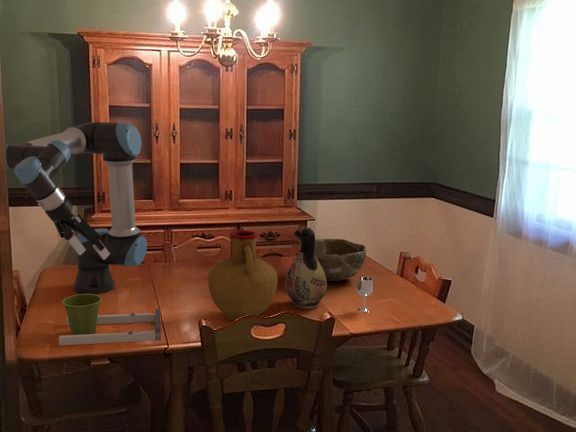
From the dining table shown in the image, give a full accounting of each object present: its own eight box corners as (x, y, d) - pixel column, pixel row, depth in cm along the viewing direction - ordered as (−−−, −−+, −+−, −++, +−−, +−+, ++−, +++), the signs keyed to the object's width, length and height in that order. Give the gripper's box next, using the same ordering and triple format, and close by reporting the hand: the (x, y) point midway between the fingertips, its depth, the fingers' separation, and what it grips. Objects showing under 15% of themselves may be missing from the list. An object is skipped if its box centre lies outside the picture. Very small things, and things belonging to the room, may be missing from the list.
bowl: (349, 294, 245) (350, 257, 242) (289, 282, 258) (290, 247, 255) (375, 277, 268) (377, 243, 265) (319, 267, 281) (320, 235, 278)
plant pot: (66, 327, 204) (64, 294, 202) (103, 325, 206) (102, 292, 204) (61, 341, 192) (59, 306, 190) (101, 339, 195) (100, 304, 193)
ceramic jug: (278, 300, 235) (280, 222, 229) (315, 296, 241) (318, 220, 235) (295, 315, 220) (297, 232, 214) (335, 311, 226) (338, 230, 220)
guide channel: (59, 345, 190) (58, 333, 189) (67, 323, 207) (67, 312, 206) (160, 340, 195) (160, 328, 195) (160, 319, 213) (160, 308, 212)
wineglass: (367, 314, 223) (369, 282, 221) (353, 311, 226) (354, 279, 224) (374, 309, 228) (376, 278, 226) (360, 306, 231) (361, 275, 229)
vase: (284, 327, 209) (287, 239, 203) (214, 333, 202) (214, 243, 196) (266, 304, 231) (268, 224, 225) (202, 308, 224) (202, 227, 219)
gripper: (25, 209, 194) (65, 258, 205) (68, 214, 178) (109, 267, 189) (43, 194, 198) (81, 243, 209) (86, 197, 182) (125, 250, 193)
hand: (94, 254), depth 199 cm, fingers open, 13 cm apart
